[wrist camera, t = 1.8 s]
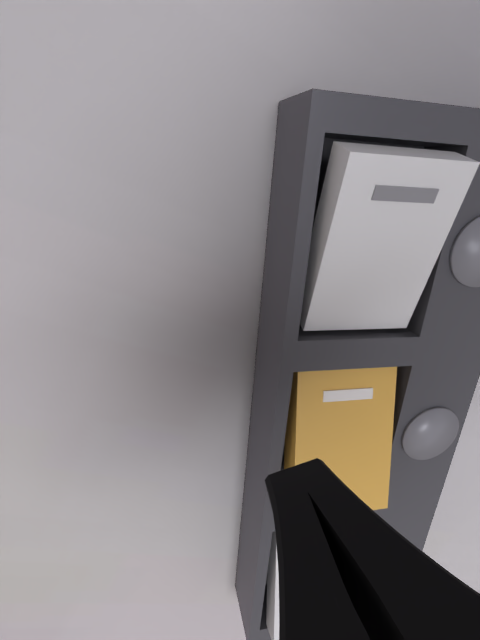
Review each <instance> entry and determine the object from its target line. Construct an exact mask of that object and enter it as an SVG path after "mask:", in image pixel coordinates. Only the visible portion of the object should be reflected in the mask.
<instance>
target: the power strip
mask: <svg viewBox="0 0 480 640" xmlns="http://www.w3.org/2000/svg"><path fill="white" fill-rule="evenodd" d="M333 141H338V142H349V143H360V144H372V145H383V146H395V147H406V148H417V149H429V150H440V151H452V152H456V153H459V154H461V155H464V156H466V157H468V158H471V159H473V160H476V161H478V162H480V109H479V108H471V107H462V106H454V105H445V104H437V103H429V102H420V101H412V100H403V99H395V98H386V97H378V96H369V95H361V94H352V93H344V92H335V91H327V90H319V89H311V90H309V91H306V92H303V93H301V94H298V95H296V96H293V97H290V98H288V99H285V100H283V101H280V102H279V108H278V119H277V130H276V141H275V152H274V163H273V174H272V185H271V196H270V207H269V218H268V229H267V240H266V251H265V262H264V274H263V285H262V296H261V307H260V318H259V329H258V340H257V351H256V362H255V373H254V384H253V395H252V406H251V417H250V428H249V439H248V450H247V461H246V472H245V483H244V494H243V505H242V516H241V528H240V539H239V550H238V561H237V572H236V583H235V588H236V592H237V597H238V602H239V607H240V611H241V616H242V621H243V625H244V630H245V635H246V640H271V637H270V634H269V631H268V628H267V625H266V608H267V570H268V563H269V555H270V547H271V540H272V532H274V531H275V524H274V517H273V511H272V507H271V503H270V499H269V496H268V492H267V488H266V484H265V479H266V477H267V476H268V475H269V474H272V473H275V472H278V471H281V470H284V446H285V433H286V425H287V418H288V410H289V403H290V395H291V387H292V380H293V372H304V371H323V370H342V369H361V368H380V367H397V378H396V392H395V407H394V422H393V436H392V451H391V466H390V480H389V495H388V508H385V509H378V510H373V511H374V512H375V513H377V514H378V515H379V516H380V517H381V518H382V519H384V520H385V521H386V522H387V523H388V524H389V525H391V526H392V527H393V528H394V529H395V530H396V531H398V532H399V533H400V534H401V535H402V536H404V537H405V538H406V539H407V540H408V541H410V542H411V543H412V544H413V545H415V546H416V547H417V548H418V549H420V550H421V551H422V550H423V547H424V544H425V541H426V538H427V534H428V531H429V528H430V525H431V522H432V519H433V516H434V513H435V510H436V507H437V504H438V501H439V498H440V495H441V492H442V489H443V486H444V482H445V479H446V476H447V473H448V470H449V467H450V464H451V461H452V458H453V455H454V452H455V449H456V446H457V443H458V440H459V437H460V434H461V430H462V427H463V424H464V421H465V418H466V415H467V412H468V409H469V406H470V403H471V400H472V397H473V394H474V391H475V388H476V385H477V382H478V379H479V375H480V164H479V166H478V168H477V171H476V173H475V175H474V177H473V180H472V182H471V184H470V186H469V189H468V191H467V193H466V195H465V198H464V200H463V202H462V204H461V207H460V209H459V211H458V213H457V216H456V218H455V220H454V222H453V225H452V227H451V229H450V231H449V233H448V236H447V238H446V240H445V242H444V245H443V247H442V249H441V251H440V254H439V256H438V258H437V260H436V263H435V265H434V267H433V269H432V272H431V274H430V276H429V278H428V281H427V283H426V285H425V287H424V290H423V292H422V294H421V296H420V299H419V301H418V303H417V305H416V307H415V310H414V312H413V314H412V316H411V319H410V321H409V323H408V325H407V328H391V329H356V330H320V331H303V329H302V327H301V325H300V319H301V311H302V303H303V296H304V288H305V281H306V273H307V265H308V258H309V250H310V243H311V235H312V230H313V225H314V221H315V217H316V213H317V208H318V204H319V200H320V196H321V191H322V187H323V183H324V179H325V174H326V170H327V166H328V162H329V157H330V153H331V149H332V145H333Z"/></svg>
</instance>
